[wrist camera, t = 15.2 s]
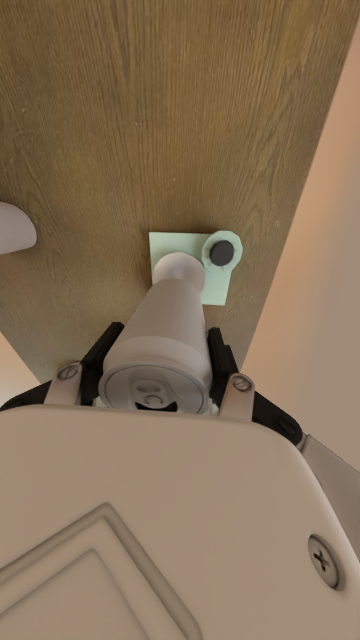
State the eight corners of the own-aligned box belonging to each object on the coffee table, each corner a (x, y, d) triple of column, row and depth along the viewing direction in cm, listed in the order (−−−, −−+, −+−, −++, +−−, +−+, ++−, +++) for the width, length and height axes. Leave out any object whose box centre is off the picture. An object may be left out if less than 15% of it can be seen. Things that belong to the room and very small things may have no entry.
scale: (240, 231, 24) (246, 231, 22) (225, 302, 31) (229, 309, 28) (150, 227, 25) (146, 227, 22) (154, 299, 31) (151, 305, 29)
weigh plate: (208, 253, 23) (208, 253, 23) (202, 305, 28) (202, 306, 28) (150, 250, 24) (150, 251, 23) (154, 303, 28) (154, 303, 28)
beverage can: (153, 326, 20) (115, 432, 10) (141, 278, 17) (63, 360, 6) (202, 323, 19) (216, 433, 9) (199, 272, 16) (217, 353, 6)
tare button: (233, 242, 23) (236, 243, 21) (229, 264, 24) (231, 266, 23) (212, 241, 23) (213, 242, 22) (209, 263, 25) (210, 265, 23)
